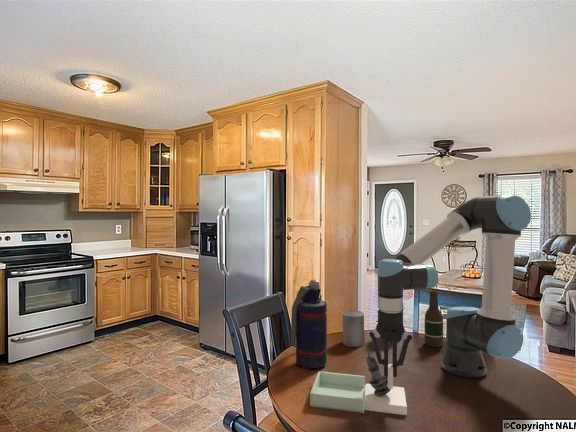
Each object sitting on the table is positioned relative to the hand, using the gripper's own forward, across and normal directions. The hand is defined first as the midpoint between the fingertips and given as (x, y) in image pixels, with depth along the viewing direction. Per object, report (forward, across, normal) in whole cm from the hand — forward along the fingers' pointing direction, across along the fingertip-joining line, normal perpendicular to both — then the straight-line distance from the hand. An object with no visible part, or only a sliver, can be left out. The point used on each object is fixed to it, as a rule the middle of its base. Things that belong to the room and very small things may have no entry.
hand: (390, 386), depth 112 cm
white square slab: (+5, +2, 0) cm, 5 cm away
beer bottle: (+5, -21, -57) cm, 61 cm away
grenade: (+5, +29, -22) cm, 37 cm away
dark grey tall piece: (+2, +2, 0) cm, 3 cm away
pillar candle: (+5, +14, -50) cm, 53 cm away
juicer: (+5, +30, -40) cm, 51 cm away
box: (+5, +16, 0) cm, 16 cm away
